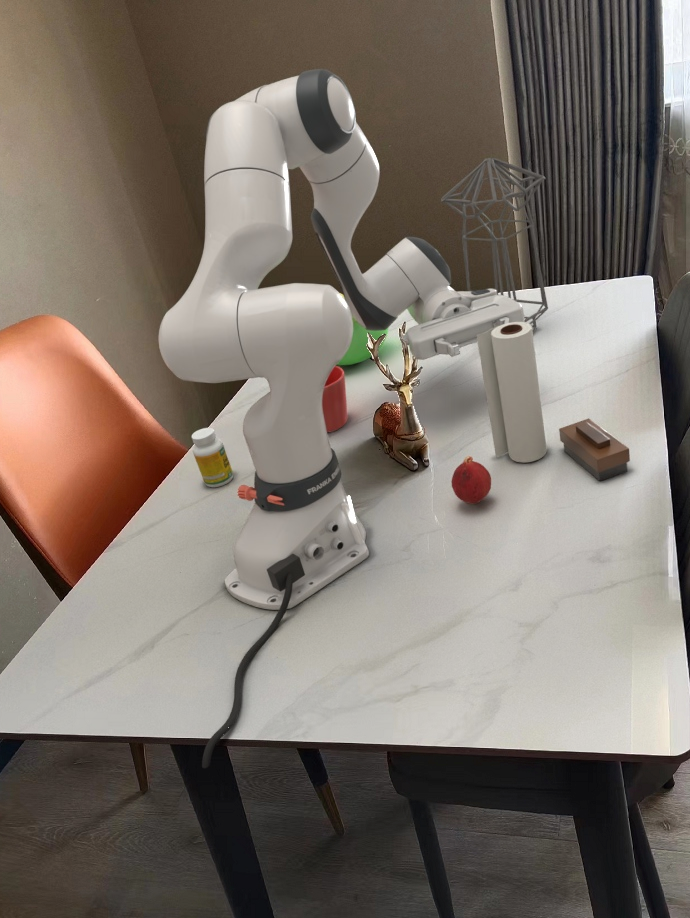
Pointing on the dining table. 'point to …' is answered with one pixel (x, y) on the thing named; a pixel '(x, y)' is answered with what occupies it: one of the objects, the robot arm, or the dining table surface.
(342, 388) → the flower pot
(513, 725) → the dining table surface
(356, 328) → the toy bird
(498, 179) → the geometric lantern
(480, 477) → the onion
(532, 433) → the paper towel roll
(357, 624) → the dining table surface
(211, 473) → the supplement bottle
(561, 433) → the chalkboard eraser
